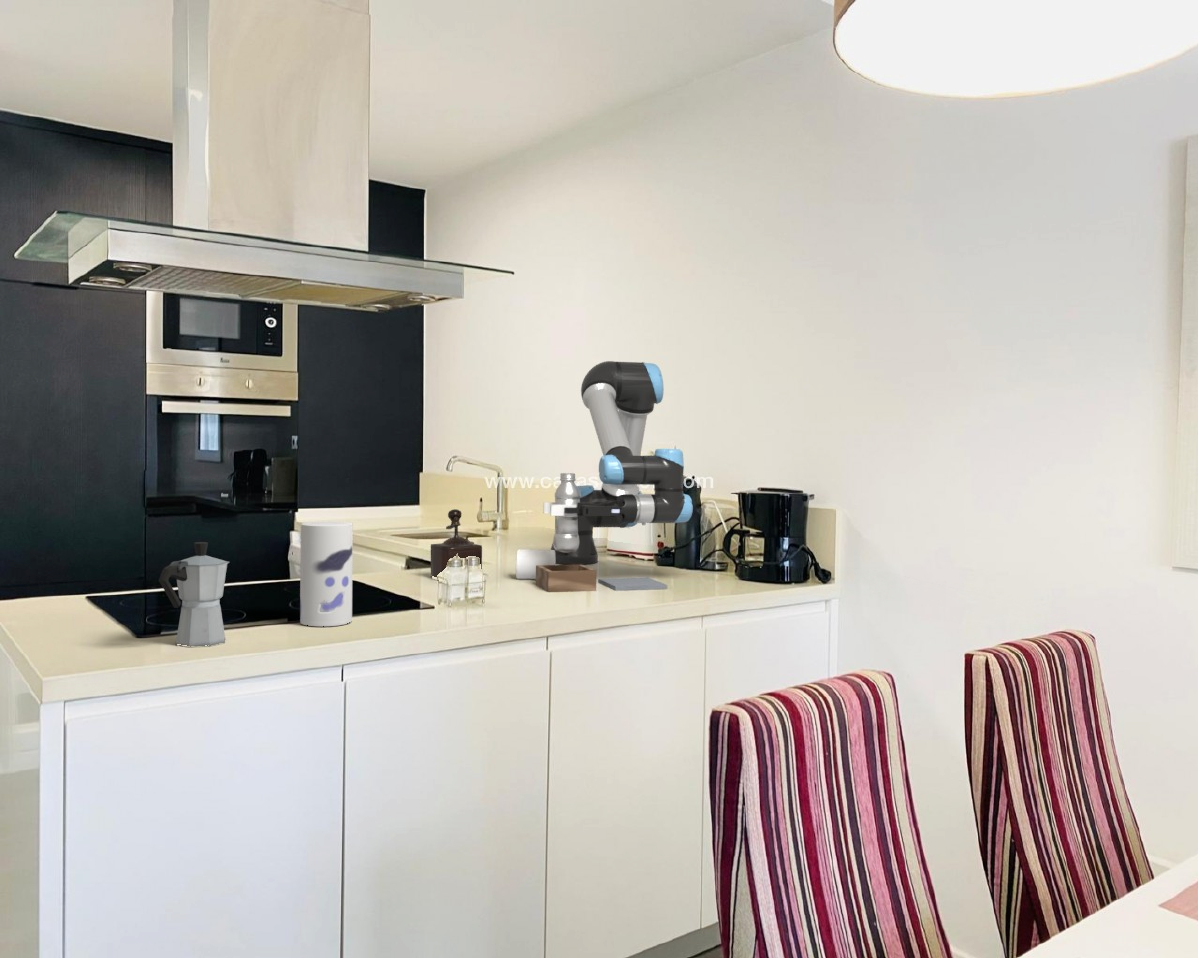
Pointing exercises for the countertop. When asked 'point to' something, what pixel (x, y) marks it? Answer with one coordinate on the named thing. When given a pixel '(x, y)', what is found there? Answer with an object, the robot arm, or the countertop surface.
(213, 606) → the coffee maker
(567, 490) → the plastic bottle
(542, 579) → the holder
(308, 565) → the container
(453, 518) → the manual coffee grinder
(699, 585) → the countertop surface
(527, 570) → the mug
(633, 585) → the mat
